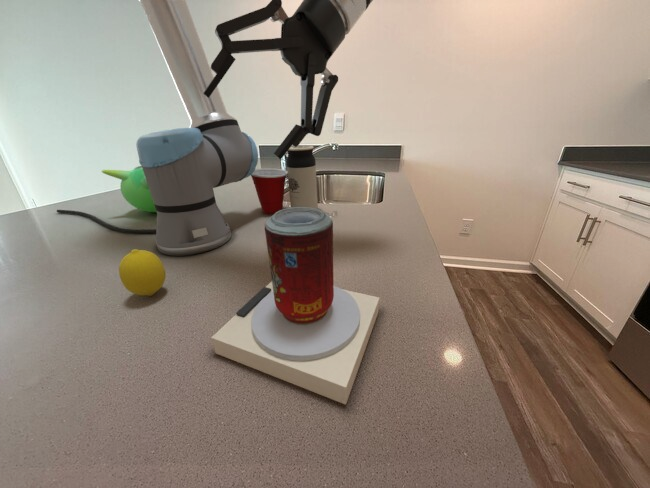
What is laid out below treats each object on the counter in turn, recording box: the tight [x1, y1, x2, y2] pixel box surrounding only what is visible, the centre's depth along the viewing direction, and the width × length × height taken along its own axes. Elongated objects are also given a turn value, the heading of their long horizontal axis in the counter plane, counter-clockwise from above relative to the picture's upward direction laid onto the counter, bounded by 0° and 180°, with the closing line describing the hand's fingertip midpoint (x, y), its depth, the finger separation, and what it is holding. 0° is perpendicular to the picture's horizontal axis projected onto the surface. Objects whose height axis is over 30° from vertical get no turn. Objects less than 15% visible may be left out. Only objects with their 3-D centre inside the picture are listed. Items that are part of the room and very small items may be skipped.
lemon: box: [118, 248, 167, 297], centre depth 39 cm, size 6×6×8 cm
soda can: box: [264, 207, 335, 325], centre depth 29 cm, size 7×7×12 cm
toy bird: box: [101, 165, 157, 213], centre depth 77 cm, size 18×17×15 cm
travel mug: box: [285, 145, 319, 209], centre depth 73 cm, size 8×8×18 cm
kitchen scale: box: [210, 280, 380, 406], centre depth 32 cm, size 16×14×3 cm
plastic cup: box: [250, 167, 288, 215], centre depth 75 cm, size 11×11×12 cm
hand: (244, 129), depth 42 cm, fingers open, 13 cm apart
